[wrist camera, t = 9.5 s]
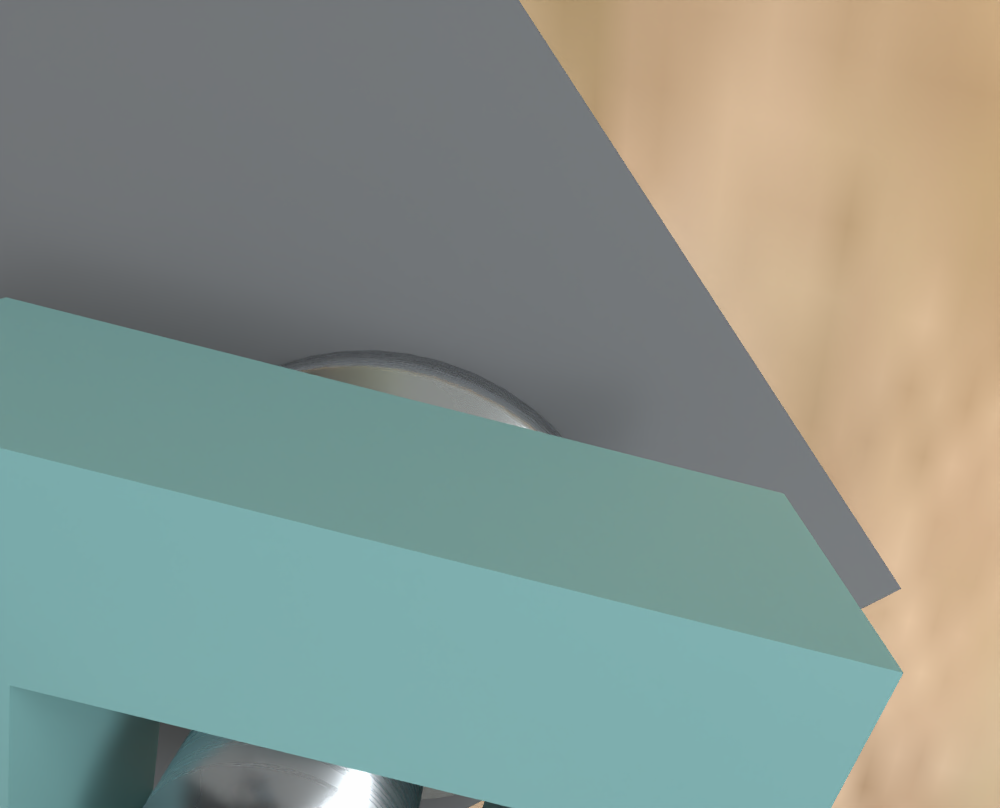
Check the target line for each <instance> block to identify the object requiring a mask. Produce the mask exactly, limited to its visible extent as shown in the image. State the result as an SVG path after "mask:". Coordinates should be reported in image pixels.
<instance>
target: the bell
mask: <svg viewBox="0 0 1000 808" xmlns="http://www.w3.org/2000/svg"><path fill="white" fill-rule="evenodd" d="M279 366H280V367H284V368H288V369H292V370H296V371H300V372H304V373H308V374H312V375H316V376H320V377H324V378H328V379H332V380H336V381H340V382H344V383H348V384H352V385H356V386H360V387H364V388H368V389H372V390H376V391H380V392H383V393H387V394H391V395H395V396H399V397H403V398H407V399H411V400H415V401H419V402H423V403H427V404H431V405H435V406H439V407H443V408H447V409H451V410H455V411H459V412H463V413H467V414H471V415H475V416H479V417H482V418H486V419H490V420H494V421H498V422H502V423H506V424H510V425H514V426H518V427H522V428H526V429H530V430H534V431H538V432H542V433H546V434H550V435H554V436H558V437H562V436H561V435H560V433H559V432H558V431H557V430H556V429H555V428H554V427H553V426H552V425H551V424H550V423H548V422H547V421H546V420H545V419H544V418H543V417H542V416H541V415H540V414H538V413H537V412H536V411H535V410H534V409H533V408H532V407H530V406H529V405H527V404H526V403H524V402H523V401H522V400H520V399H519V398H517V397H516V396H514V395H513V394H511V393H510V392H508V391H507V390H506V389H504V388H502V387H500V386H498V385H496V384H494V383H492V382H490V381H489V380H487V379H485V378H483V377H481V376H479V375H477V374H475V373H473V372H470V371H467V370H464V369H462V368H459V367H456V366H454V365H451V364H448V363H445V362H443V361H439V360H434V359H430V358H426V357H421V356H417V355H413V354H407V353H398V352H388V351H378V350H364V351H339V352H333V353H327V354H320V355H314V356H309V357H306V358H302V359H299V360H296V361H292V362H289V363H286V364H282V365H279ZM562 438H563V437H562ZM452 795H457V794H453V793H449V792H445V791H441V790H437V789H433V788H429V787H425V786H421V785H416V784H412V783H408V782H404V781H400V780H396V779H392V778H388V777H384V776H380V775H375V774H371V773H367V772H363V771H359V770H355V769H351V768H347V767H343V766H339V765H334V764H330V763H326V762H322V761H318V760H314V759H310V758H306V757H302V756H297V755H293V754H289V753H285V752H281V751H277V750H273V749H269V748H265V747H261V746H256V745H252V744H248V743H244V742H240V741H236V740H232V739H228V738H224V737H220V736H215V735H211V734H207V733H203V732H199V731H195V730H191V731H190V732H189V734H188V736H187V737H186V739H185V740H184V742H183V744H182V745H181V747H180V748H179V750H178V752H177V753H176V755H175V756H174V758H173V760H172V761H171V763H170V765H169V766H168V768H167V769H166V771H165V773H164V774H163V776H162V777H161V779H160V781H159V782H158V784H157V785H156V787H155V789H154V790H153V792H152V793H151V795H150V797H149V798H148V800H147V802H146V803H145V805H144V806H143V808H419V806H420V801H421V799H434V798H441V797H446V796H452Z"/></svg>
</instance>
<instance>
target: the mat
mask: <svg viewBox="0 0 1000 808" xmlns="http://www.w3.org/2000/svg"><path fill="white" fill-rule="evenodd" d="M5 297H7V298H11V299H15V300H19V301H23V302H27V303H31V304H35V305H39V306H43V307H47V308H51V309H55V310H59V311H63V312H67V313H71V314H75V315H79V316H82V317H86V318H90V319H94V320H98V321H102V322H106V323H110V324H114V325H118V326H122V327H126V328H130V329H134V330H138V331H142V332H146V333H150V334H154V335H158V336H162V337H166V338H170V339H174V340H178V341H181V342H185V343H189V344H193V345H197V346H201V347H205V348H209V349H213V350H217V351H221V352H225V353H229V354H233V355H237V356H241V357H245V358H249V359H253V360H257V361H261V362H265V363H269V364H273V365H277V366H279V365H282V364H286V363H289V362H292V361H296V360H299V359H302V358H306V357H309V356H314V355H320V354H327V353H333V352H339V351H364V350H378V351H388V352H398V353H407V354H413V355H417V356H421V357H426V358H430V359H434V360H439V361H443V362H445V363H448V364H451V365H454V366H456V367H459V368H462V369H464V370H467V371H470V372H473V373H475V374H477V375H479V376H481V377H483V378H485V379H487V380H489V381H490V382H492V383H494V384H496V385H498V386H500V387H502V388H504V389H506V390H507V391H508V392H510V393H511V394H513V395H514V396H516V397H517V398H519V399H520V400H522V401H523V402H524V403H526V404H527V405H529V406H530V407H532V408H533V409H534V410H535V411H536V412H537V413H538V414H540V415H541V416H542V417H543V418H544V419H545V420H546V421H547V422H548V423H550V424H551V425H552V426H553V427H554V428H555V429H556V430H557V431H558V432H559V433H560V435H561V436H562V437H563V438H566V439H570V440H574V441H578V442H581V443H585V444H589V445H593V446H597V447H601V448H605V449H609V450H613V451H617V452H621V453H625V454H629V455H633V456H637V457H641V458H645V459H649V460H653V461H657V462H661V463H665V464H669V465H673V466H677V467H681V468H684V469H688V470H692V471H696V472H700V473H704V474H708V475H712V476H716V477H720V478H724V479H728V480H732V481H736V482H740V483H744V484H748V485H752V486H756V487H760V488H764V489H768V490H772V491H776V492H780V493H783V494H785V496H786V497H787V499H788V500H789V502H790V503H791V505H792V506H793V508H794V509H795V511H796V512H797V514H798V515H799V517H800V518H801V520H802V521H803V523H804V524H805V526H806V527H807V529H808V530H809V532H810V533H811V535H812V536H813V538H814V539H815V541H816V542H817V544H818V545H819V547H820V548H821V550H822V551H823V553H824V554H825V556H826V557H827V559H828V560H829V562H830V563H831V565H832V566H833V568H834V569H835V571H836V572H837V574H838V575H839V577H840V578H841V580H842V582H843V583H844V585H845V586H846V588H847V589H848V591H849V592H850V594H851V595H852V597H853V598H854V600H855V601H856V603H857V604H858V606H859V607H860V609H862V608H864V607H866V606H868V605H870V604H872V603H874V602H876V601H878V600H880V599H882V598H884V597H886V596H888V595H890V594H891V593H893V592H895V591H897V590H899V589H901V588H900V586H899V585H898V583H897V582H896V580H895V579H894V577H893V575H892V574H891V572H890V571H889V569H888V568H887V566H886V565H885V563H884V562H883V560H882V559H881V557H880V555H879V554H878V552H877V551H876V549H875V548H874V546H873V545H872V543H871V542H870V540H869V539H868V537H867V535H866V534H865V532H864V531H863V529H862V528H861V526H860V525H859V523H858V522H857V520H856V519H855V517H854V515H853V514H852V512H851V511H850V509H849V508H848V506H847V505H846V503H845V502H844V500H843V499H842V497H841V495H840V494H839V492H838V491H837V489H836V488H835V486H834V485H833V483H832V482H831V480H830V479H829V477H828V475H827V474H826V472H825V471H824V469H823V468H822V466H821V465H820V463H819V462H818V460H817V458H816V457H815V455H814V454H813V452H812V451H811V449H810V448H809V446H808V445H807V443H806V442H805V440H804V438H803V437H802V435H801V434H800V432H799V431H798V429H797V428H796V426H795V425H794V423H793V422H792V420H791V418H790V417H789V415H788V414H787V412H786V411H785V409H784V408H783V406H782V405H781V403H780V402H779V400H778V398H777V397H776V395H775V394H774V392H773V391H772V389H771V388H770V386H769V385H768V383H767V382H766V380H765V378H764V377H763V375H762V374H761V372H760V371H759V369H758V368H757V366H756V365H755V363H754V362H753V360H752V358H751V357H750V355H749V354H748V352H747V351H746V349H745V348H744V346H743V345H742V343H741V342H740V340H739V338H738V337H737V335H736V334H735V332H734V331H733V329H732V328H731V326H730V325H729V323H728V322H727V320H726V318H725V317H724V315H723V314H722V312H721V311H720V309H719V308H718V306H717V305H716V303H715V302H714V300H713V298H712V297H711V295H710V294H709V292H708V291H707V289H706V288H705V286H704V285H703V283H702V282H701V280H700V278H699V277H698V275H697V274H696V272H695V271H694V269H693V268H692V266H691V265H690V263H689V262H688V260H687V258H686V257H685V255H684V254H683V252H682V251H681V249H680V248H679V246H678V245H677V243H676V242H675V240H674V238H673V237H672V235H671V234H670V232H669V231H668V229H667V228H666V226H665V225H664V223H663V222H662V220H661V218H660V217H659V215H658V214H657V212H656V211H655V209H654V208H653V206H652V205H651V203H650V202H649V200H648V198H647V197H646V195H645V194H644V192H643V191H642V189H641V188H640V186H639V185H638V183H637V182H636V180H635V178H634V177H633V175H632V174H631V172H630V171H629V169H628V168H627V166H626V165H625V163H624V161H623V160H622V158H621V157H620V155H619V154H618V152H617V151H616V149H615V148H614V146H613V145H612V143H611V141H610V140H609V138H608V137H607V135H606V134H605V132H604V131H603V129H602V128H601V126H600V125H599V123H598V121H597V120H596V118H595V117H594V115H593V114H592V112H591V111H590V109H589V108H588V106H587V105H586V103H585V101H584V100H583V98H582V97H581V95H580V94H579V92H578V91H577V89H576V88H575V86H574V85H573V83H572V81H571V80H570V78H569V77H568V75H567V74H566V72H565V71H564V69H563V68H562V66H561V65H560V63H559V61H558V60H557V58H556V57H555V55H554V54H553V52H552V51H551V49H550V48H549V46H548V45H547V43H546V41H545V40H544V38H543V37H542V35H541V34H540V32H539V31H538V29H537V28H536V26H535V25H534V23H533V21H532V20H531V18H530V17H529V15H528V14H527V12H526V11H525V9H524V8H523V6H522V5H521V3H520V1H519V0H0V299H2V298H5ZM190 731H191V729H187V728H183V727H179V726H174V725H170V724H166V723H162V722H160V728H159V738H158V748H157V757H156V767H155V777H154V786H153V790H154V789H155V787H156V785H157V784H158V782H159V781H160V779H161V777H162V776H163V774H164V773H165V771H166V769H167V768H168V766H169V765H170V763H171V761H172V760H173V758H174V756H175V755H176V753H177V752H178V750H179V748H180V747H181V745H182V744H183V742H184V740H185V739H186V737H187V736H188V734H189V732H190ZM480 801H482V800H478V799H474V798H470V797H466V796H462V795H452V796H446V797H441V798H434V799H421V801H420V806H419V808H468V807H470V806H472V805H474V804H476V803H478V802H480Z"/></svg>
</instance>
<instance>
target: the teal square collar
mask: <svg viewBox="0 0 1000 808" xmlns="http://www.w3.org/2000/svg"><path fill="white" fill-rule="evenodd" d="M902 674H903V672H902V670H901V669H900V667H899V666H898V664H897V663H896V661H895V660H894V658H893V657H892V655H891V654H890V652H889V651H888V649H887V648H886V646H885V645H884V643H883V642H882V640H881V639H880V637H879V636H878V634H877V633H876V631H875V630H874V628H873V627H872V625H871V624H870V622H869V621H868V619H867V618H866V616H865V615H864V613H863V612H862V610H861V609H860V607H859V606H858V604H857V603H856V601H855V600H854V598H853V597H852V595H851V594H850V592H849V591H848V589H847V588H846V586H845V585H844V583H843V582H842V580H841V578H840V577H839V575H838V574H837V572H836V571H835V569H834V568H833V566H832V565H831V563H830V562H829V560H828V559H827V557H826V556H825V554H824V553H823V551H822V550H821V548H820V547H819V545H818V544H817V542H816V541H815V539H814V538H813V536H812V535H811V533H810V532H809V530H808V529H807V527H806V526H805V524H804V523H803V521H802V520H801V518H800V517H799V515H798V514H797V512H796V511H795V509H794V508H793V506H792V505H791V503H790V502H789V500H788V499H787V497H786V496H785V494H783V493H780V492H776V491H772V490H768V489H764V488H760V487H756V486H752V485H748V484H744V483H740V482H736V481H732V480H728V479H724V478H720V477H716V476H712V475H708V474H704V473H700V472H696V471H692V470H688V469H684V468H681V467H677V466H673V465H669V464H665V463H661V462H657V461H653V460H649V459H645V458H641V457H637V456H633V455H629V454H625V453H621V452H617V451H613V450H609V449H605V448H601V447H597V446H593V445H589V444H585V443H581V442H578V441H574V440H570V439H566V438H562V437H558V436H554V435H550V434H546V433H542V432H538V431H534V430H530V429H526V428H522V427H518V426H514V425H510V424H506V423H502V422H498V421H494V420H490V419H486V418H482V417H479V416H475V415H471V414H467V413H463V412H459V411H455V410H451V409H447V408H443V407H439V406H435V405H431V404H427V403H423V402H419V401H415V400H411V399H407V398H403V397H399V396H395V395H391V394H387V393H383V392H380V391H376V390H372V389H368V388H364V387H360V386H356V385H352V384H348V383H344V382H340V381H336V380H332V379H328V378H324V377H320V376H316V375H312V374H308V373H304V372H300V371H296V370H292V369H288V368H284V367H280V366H277V365H273V364H269V363H265V362H261V361H257V360H253V359H249V358H245V357H241V356H237V355H233V354H229V353H225V352H221V351H217V350H213V349H209V348H205V347H201V346H197V345H193V344H189V343H185V342H181V341H178V340H174V339H170V338H166V337H162V336H158V335H154V334H150V333H146V332H142V331H138V330H134V329H130V328H126V327H122V326H118V325H114V324H110V323H106V322H102V321H98V320H94V319H90V318H86V317H82V316H79V315H75V314H71V313H67V312H63V311H59V310H55V309H51V308H47V307H43V306H39V305H35V304H31V303H27V302H23V301H19V300H15V299H11V298H7V297H5V298H2V299H0V808H143V806H144V805H145V803H146V802H147V800H148V798H149V797H150V795H151V793H152V792H153V786H154V777H155V767H156V757H157V748H158V738H159V728H160V722H162V723H166V724H170V725H174V726H179V727H183V728H187V729H191V730H195V731H199V732H203V733H207V734H211V735H215V736H220V737H224V738H228V739H232V740H236V741H240V742H244V743H248V744H252V745H256V746H261V747H265V748H269V749H273V750H277V751H281V752H285V753H289V754H293V755H297V756H302V757H306V758H310V759H314V760H318V761H322V762H326V763H330V764H334V765H339V766H343V767H347V768H351V769H355V770H359V771H363V772H367V773H371V774H375V775H380V776H384V777H388V778H392V779H396V780H400V781H404V782H408V783H412V784H416V785H421V786H425V787H429V788H433V789H437V790H441V791H445V792H449V793H453V794H457V795H462V796H466V797H470V798H474V799H478V800H482V801H485V802H484V805H483V808H831V807H832V805H833V803H834V801H835V799H836V797H837V795H838V794H839V792H840V790H841V788H842V786H843V784H844V782H845V781H846V779H847V777H848V775H849V773H850V771H851V769H852V767H853V766H854V764H855V762H856V760H857V758H858V756H859V754H860V753H861V751H862V749H863V747H864V745H865V743H866V741H867V740H868V738H869V736H870V734H871V732H872V730H873V728H874V727H875V725H876V723H877V721H878V719H879V717H880V715H881V713H882V712H883V710H884V708H885V706H886V704H887V702H888V700H889V699H890V697H891V695H892V693H893V691H894V689H895V687H896V686H897V684H898V682H899V680H900V678H901V676H902Z"/></svg>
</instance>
